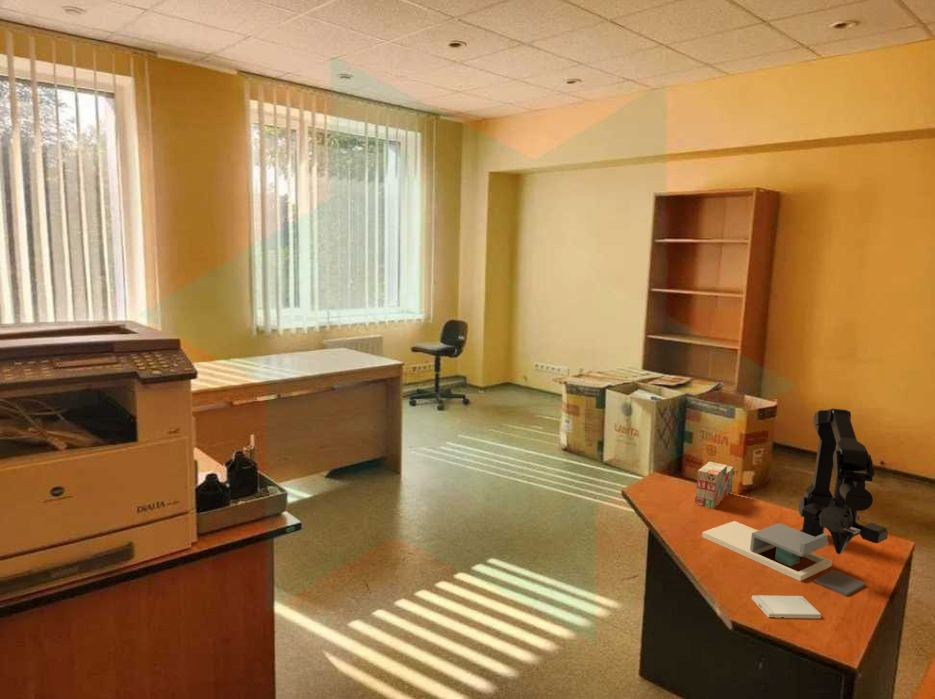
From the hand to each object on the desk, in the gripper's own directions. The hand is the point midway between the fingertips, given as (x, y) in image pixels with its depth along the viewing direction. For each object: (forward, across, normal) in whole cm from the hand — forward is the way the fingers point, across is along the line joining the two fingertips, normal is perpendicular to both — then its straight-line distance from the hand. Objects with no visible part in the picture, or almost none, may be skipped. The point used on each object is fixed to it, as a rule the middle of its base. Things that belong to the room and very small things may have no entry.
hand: (838, 553), depth 162 cm
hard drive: (+8, 0, -24) cm, 25 cm away
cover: (+6, -13, 0) cm, 14 cm away
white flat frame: (+8, -20, 0) cm, 21 cm away
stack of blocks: (+8, -52, +23) cm, 57 cm away
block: (+8, -13, 0) cm, 15 cm away
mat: (+8, +1, 0) cm, 8 cm away
